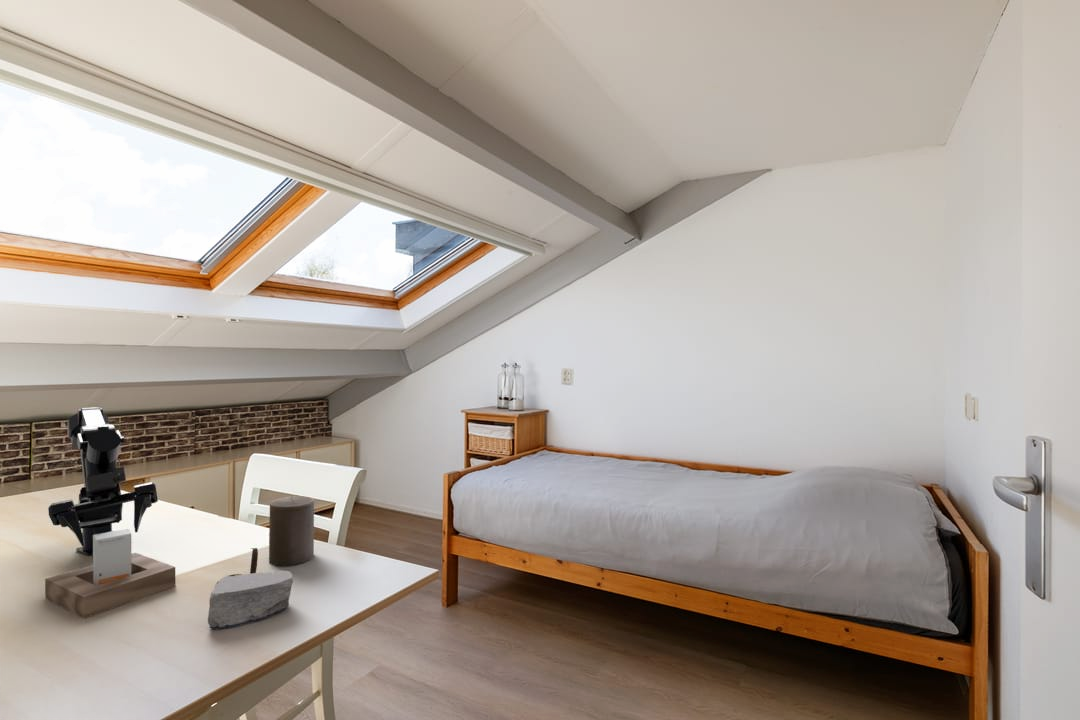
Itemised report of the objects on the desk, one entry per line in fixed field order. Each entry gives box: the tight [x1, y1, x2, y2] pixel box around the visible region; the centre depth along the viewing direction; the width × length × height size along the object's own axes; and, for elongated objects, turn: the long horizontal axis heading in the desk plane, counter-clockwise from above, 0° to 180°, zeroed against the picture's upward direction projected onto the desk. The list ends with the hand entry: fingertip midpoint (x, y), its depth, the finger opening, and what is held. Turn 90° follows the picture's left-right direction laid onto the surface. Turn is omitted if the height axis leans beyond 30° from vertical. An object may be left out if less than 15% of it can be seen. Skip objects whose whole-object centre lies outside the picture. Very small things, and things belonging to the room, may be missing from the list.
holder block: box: [44, 552, 176, 619], centre depth 114 cm, size 16×16×4 cm
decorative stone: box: [207, 570, 294, 630], centre depth 105 cm, size 15×7×10 cm
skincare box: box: [92, 528, 132, 586], centre depth 114 cm, size 6×4×12 cm
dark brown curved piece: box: [214, 547, 259, 587], centre depth 118 cm, size 8×8×7 cm
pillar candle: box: [268, 495, 315, 567], centre depth 133 cm, size 10×10×15 cm
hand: (110, 538), depth 121 cm, fingers open, 9 cm apart
